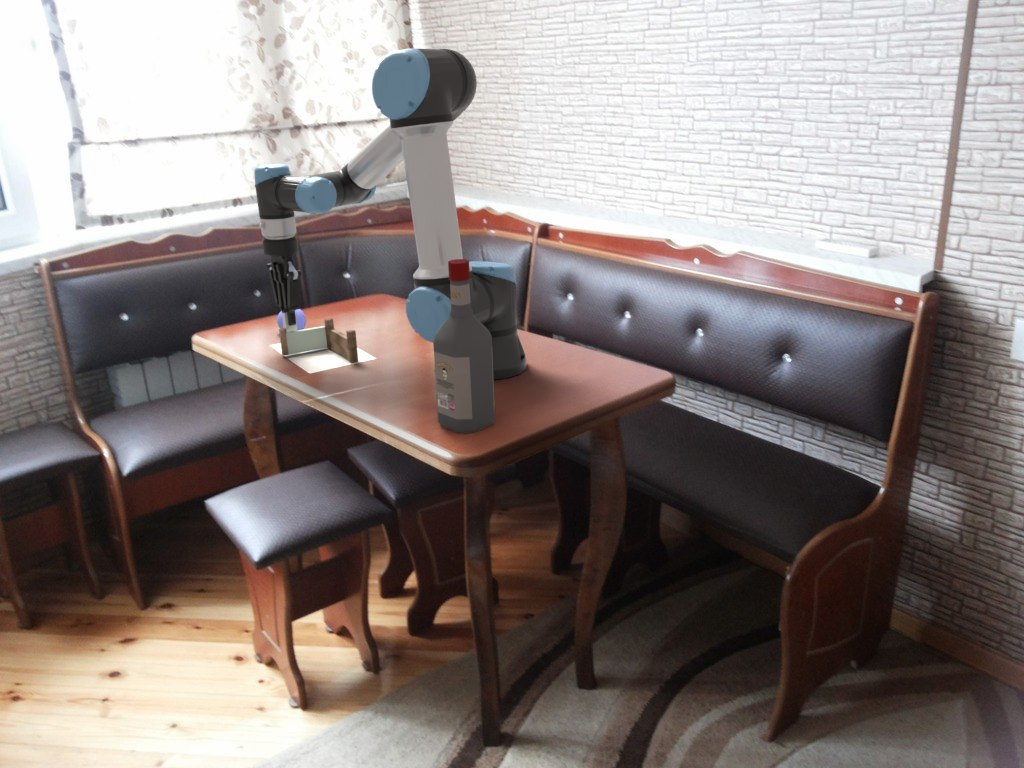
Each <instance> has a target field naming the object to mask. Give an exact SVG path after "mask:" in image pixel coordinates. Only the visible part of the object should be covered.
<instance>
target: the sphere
mask: <svg viewBox="0 0 1024 768" xmlns="http://www.w3.org/2000/svg"><path fill="white" fill-rule="evenodd" d="M295 313H296V322H297V330H302V329H305V327H306V325H307V317H306V315H305V313H304V311H303V310H301V308H300V309H298V310H296V311H295ZM276 322H277V326H278V328H279V329H281V328H283V320H282V312H281V311H280V312H279V313H278V315H277V320H276Z"/></svg>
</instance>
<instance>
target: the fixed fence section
mask: <svg viewBox="0 0 1024 768" xmlns="http://www.w3.org/2000/svg"><path fill="white" fill-rule="evenodd" d="M323 322H324V327H325V331H326V340H327V349H331V350H333V351H334V352H336V353H338V354H339V355H341V356H343V357H344V358H346V359H348V360H349V362H350V363H356V362H358V352H357V348H358V344H357V343H358V342H357V333H356V332H357V331H356V330H355V329H349V330H346V334H345V333H343V332H341V331H339V330H338V329H337V328H335V324H334V323H335V322H334V318H332V317H331V318H330V317H328V318H324V320H323ZM356 364H357V363H356Z"/></svg>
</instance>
